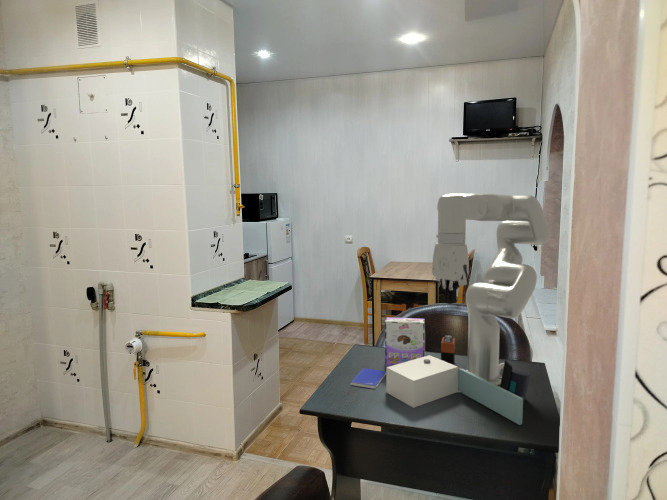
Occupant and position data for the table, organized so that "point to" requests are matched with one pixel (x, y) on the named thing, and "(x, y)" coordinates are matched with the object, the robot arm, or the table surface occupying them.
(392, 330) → the candy box
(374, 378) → the hard drive
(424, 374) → the white knobbed box
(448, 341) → the battery
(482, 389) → the side door
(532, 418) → the table surface
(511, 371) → the speaker
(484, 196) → the robot arm
